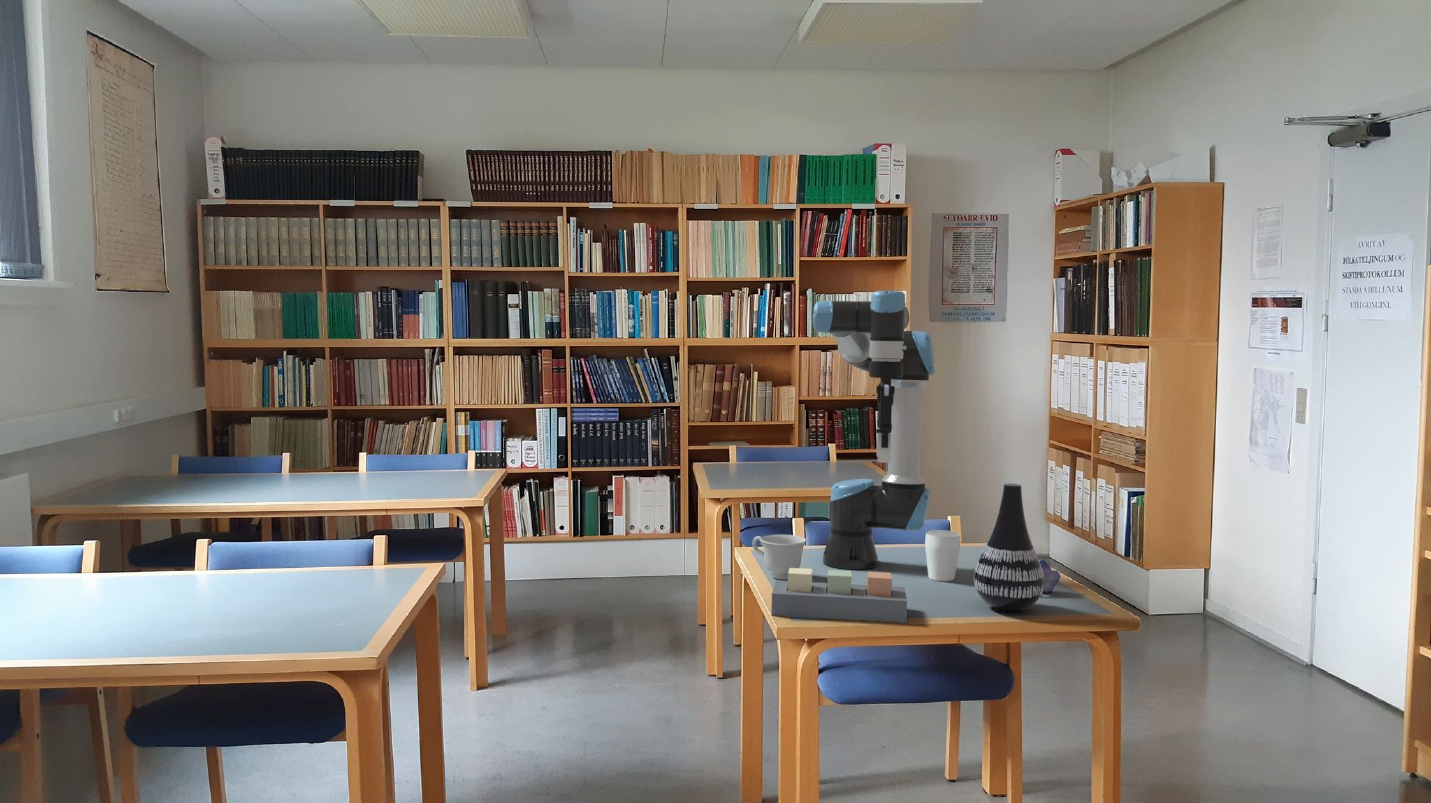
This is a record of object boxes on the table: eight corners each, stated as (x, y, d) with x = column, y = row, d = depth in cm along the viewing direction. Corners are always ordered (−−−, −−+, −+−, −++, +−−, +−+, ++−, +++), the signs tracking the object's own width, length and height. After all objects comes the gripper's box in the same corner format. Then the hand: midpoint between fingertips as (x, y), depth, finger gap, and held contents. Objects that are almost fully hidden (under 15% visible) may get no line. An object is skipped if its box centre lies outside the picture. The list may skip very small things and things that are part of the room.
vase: (1033, 622, 220) (1038, 492, 217) (963, 610, 228) (968, 485, 226) (1050, 606, 233) (1055, 483, 231) (984, 595, 241) (988, 477, 239)
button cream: (787, 601, 224) (788, 573, 224) (788, 595, 230) (789, 567, 229) (810, 602, 224) (811, 574, 223) (811, 596, 229) (812, 568, 228)
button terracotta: (867, 605, 222) (867, 577, 221) (866, 599, 227) (867, 571, 227) (890, 607, 221) (891, 578, 221) (889, 600, 226) (890, 573, 226)
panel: (771, 615, 222) (771, 593, 221) (775, 600, 233) (776, 580, 233) (906, 623, 218) (907, 601, 217) (903, 608, 229) (904, 587, 229)
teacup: (762, 567, 266) (763, 531, 265) (813, 575, 259) (813, 537, 258) (741, 576, 256) (742, 539, 255) (793, 585, 248) (794, 546, 248)
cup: (962, 576, 260) (963, 532, 259) (955, 584, 252) (956, 538, 251) (928, 572, 264) (929, 528, 263) (920, 580, 256) (921, 534, 255)
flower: (1061, 574, 238) (1049, 548, 246) (1027, 586, 239) (1016, 560, 248) (1071, 600, 242) (1058, 574, 251) (1037, 612, 244) (1026, 585, 252)
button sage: (827, 603, 223) (827, 575, 223) (827, 597, 228) (828, 569, 228) (850, 604, 222) (851, 576, 222) (850, 598, 228) (851, 570, 227)
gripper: (905, 362, 209) (902, 466, 210) (900, 359, 230) (897, 454, 232) (870, 361, 210) (867, 465, 211) (868, 358, 231) (865, 452, 233)
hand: (883, 459), depth 222 cm, fingers open, 9 cm apart
